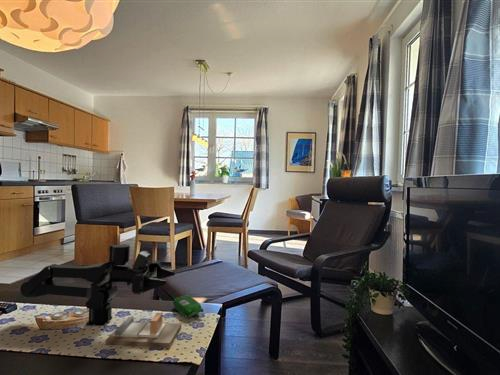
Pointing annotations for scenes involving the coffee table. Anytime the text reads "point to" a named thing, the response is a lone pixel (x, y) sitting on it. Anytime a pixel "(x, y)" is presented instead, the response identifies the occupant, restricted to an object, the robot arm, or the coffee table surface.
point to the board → (147, 338)
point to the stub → (153, 327)
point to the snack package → (187, 306)
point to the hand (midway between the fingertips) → (170, 277)
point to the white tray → (129, 328)
